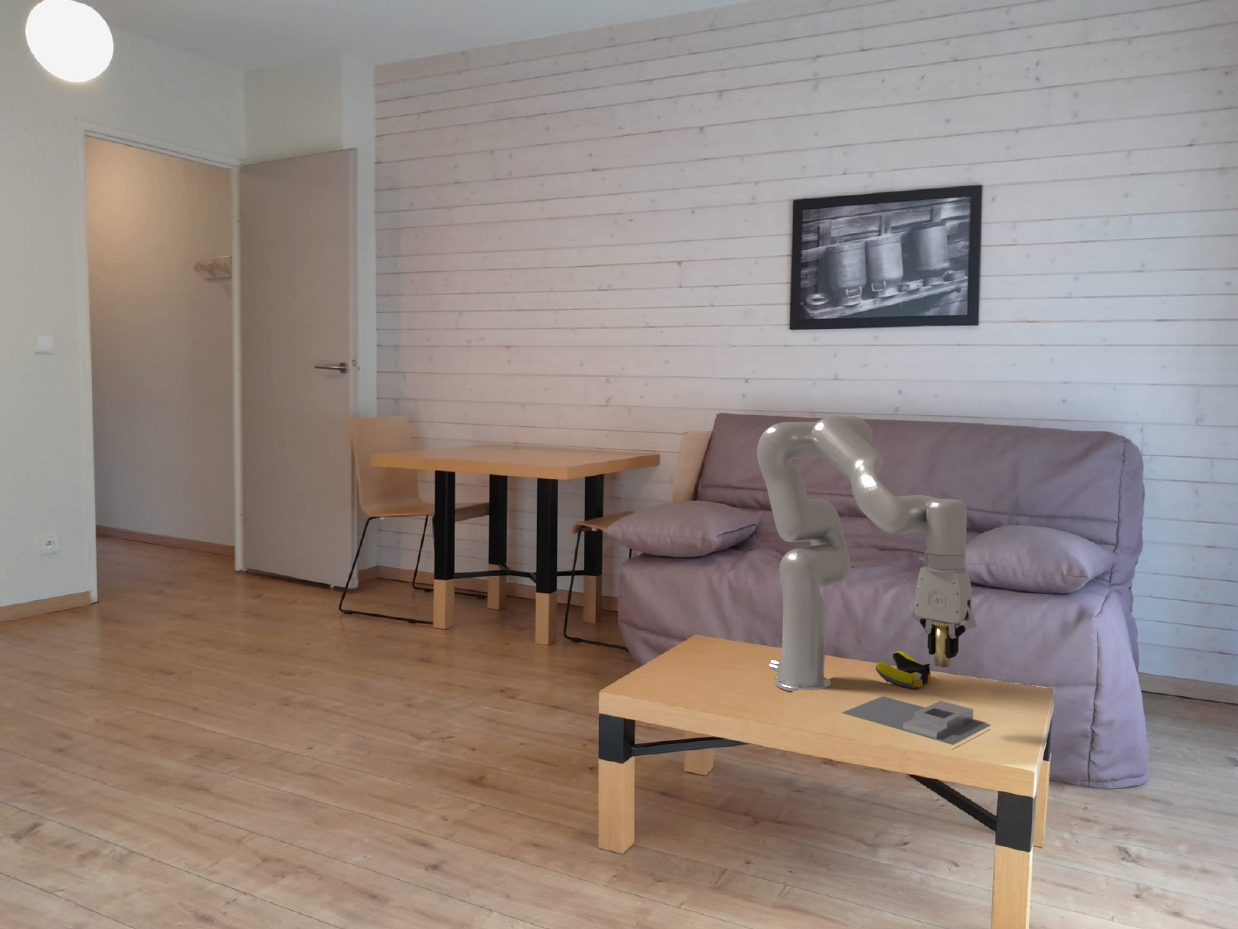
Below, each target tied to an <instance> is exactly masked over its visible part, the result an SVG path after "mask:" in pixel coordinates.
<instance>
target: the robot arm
mask: <svg viewBox="0 0 1238 929" xmlns="http://www.w3.org/2000/svg"><path fill="white" fill-rule="evenodd" d="M873 436H874V435H873V431H872V428H871V426H870V425H869V423H868V422H866V420H864V419H863V418H862V417H859V416H856V415H833V416H832V415H831V416H826V417H823V418H821V419H819V420H818V421H784V422H780V423H779V422H778V423H775V424H773V425H771V426H769V427H767V428H766V429H765V430H764V431H763V433H762V434H761V436H760V438H759V440H758V444H757V449H756V456H757V458H756V459H757V463H758V466H759V469H760V471H761V472H760V473H761V474H762V478H763V480H764V483H765V485H766V486H765V487H766V490H767V493H768V494H767V495H768V499H769V503H770V508H771V511H772V516H773V519H774V521H773V522H774V524H775V528H776V531H777V533H778V534H777V535H779V537H780V538H781V540H783V541H784V542H788V543H800V542H801V543H803V542H810V545H809V546H801V547H797V548H792V549H791V550H788V551H787V552H786V553H785V554H784V555H783V556H782V558H781V560H780V563H779V577H780V583H781V589H782V641H781V642H782V644H781V648H782V649H781V661H780V660H778V659H775V658H773V659H772V660H771V661H770V663H769V665H768V669H769V670H772V671H776V672H777V675H776V676H775V677H774V681H773V683H774V685H775V686H776V687H777V688H780V689H782V690H783V691H788V692H791V691H792V692H795V691H796V692H797V691H799V690H801V691H802V690H803V691H816V690H818V691H819V690H823V689H826V688H829V687H830V686H832V685H831V684H832V681H831V680H830V679H828V678H827V677H825V659H826V658H825V655H826V653H825V652H826V651H825V650H826V627H827V626H826V625H827V624H826V623H827V622H826V620H827V619H826V617H827V610H826V603H825V600H824V597H823V595H822V593H821V589H822V588H825V587H831V586H835V585H839V584H842V583H844V582H845V581H846V579H848V577H849V575H850V573H851V558H850V554H849V548H848V545H847V542H846V537H845V533H844V530H843V526H842V525H843V524H842V522H841V517H840V515H839V513H838V511H837V509H836V508H835V507H834V505H832V503H831V502H829V501H828V500H826V499H823V498H809V496H808V493H807V490H806V485H805V481H804V479H803V476H802V475H801V473H800V471H799V469H797V468H796V466H795V464H794V463H793V462H792V461H793V460H804V459H805V460H807V459H808V460H810V459H822V458H823V459H825V458H826V459H827V460H828V461H829V462H830V464H832V465H833V466H834V468H836V469H837V470H838V471H839V472H840V473H841V474H842V475H843V477H845V479H847V480H848V481H849V482H850V484H851V492H852V495H853V498H854V500H855V503H856V505H857V507H858V508H859V509H860V511H861V512H862V513H863V514H864V515H865V516H866V517H867V518H868V519H869V520H870V521H871V522H872V523H873V524H874V526H876V527H877V528H879V529H880V530H881V531H883V532H885V533H887V534H889V535H894V536H895V535H906V534H911V533H912V534H914V533H915V534H916V533H924V532H925V542H924V544H925V545H924V546H925V548H924V549H925V550H924V552H923V553H919V555H918V559H919V560H920V561H922V562H923V565H924V566H921V567H920V569H919V572H918V576H917V581H916V587H915V595H914V596H915V598H914V609H913V611H912V612H911V617H912V618H913V619H914V620H916V621H917V622H919V624H920V625H921V626H922V628H923V630H924V632H925V634H926V635H927V649H928V655H931V656H932V655H933V656H934V655H935V625H933V624H932V620H934V621H940V622H946V623H949V638H947V639H946V657H947V658H951V659H953V658H954V657H957V654H958V653H959V646H960V645H959V644H960V643H959V642H960V640H959V639H960V637H961V636H962V635H963V634H964V633H965V632H967V631H969V630H972V629H974V628H977V627H978V624H977V621H976V619H975V616H974V615H973V595H972V594H973V593H972V584H971V579H970V573H969V570H966V554H967V553H966V552H967V551H966V550H967V548H966V547H967V523H968V522H967V520H968V519H967V517H968V516H967V515H968V509H967V504H966V503H965V502H964V501H963V500H961V499H954V498H937V497H933V496H931V495H924V494H910V495H897V496H896V495H894V494H893V493H892V492H891V491H890V490H889V489H887V487H885V485H884V484H883V483H882V482H881V481H880V480H879V479H878V477H877V476H878V475H879V473H880V472H881V471H882V468H883V465H884V457H883V455H882V454H881V452H879V451H878V450H877V449H876V448H875V447H873V445H872V443H873V439H874V438H873ZM962 622H965V623H964V624H962Z"/></svg>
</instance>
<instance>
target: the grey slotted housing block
mask: <svg viewBox="0 0 1238 929" xmlns="http://www.w3.org/2000/svg"><path fill="white" fill-rule="evenodd" d="M973 720H974V708H971V707H966V706H962V705H959V704H955V703H951V702H948V701H947V702H946V701H942V700H938V701H937V702H934V703H931V704H930V705H928V706H925V708H923V709H921V710H919V711H916V712H914V717H913V719H911V720H909V721H907V722H905V723H903V729H904V730H907V731H911V732H914V733H918V734H921V735H925V736H928V737H932V738H935V739H937V738H939V737H941V736H943V735H945V734H947V733H949V732H951V731H953V730H955V729H957V728H959V727H961V726H963V725H966V724H968V723H970V722H972V721H973Z"/></svg>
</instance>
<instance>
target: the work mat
mask: <svg viewBox="0 0 1238 929" xmlns="http://www.w3.org/2000/svg"><path fill="white" fill-rule="evenodd" d="M925 707H926V706H925ZM925 707H924V706H921V705H918V704H914V703H910V702H907V701H902V700H898V699H896V698H895V699H894V698H892V697H887V696H880V697H878V698H877V697H876V698H875V699H873V700H870V701H867V702H864V703H863V704H859V705H858V706H855V707H852V708H850V709H847V710H845V711H843V712H842V713H841V714H844V715H849V716H851V717H855V718H858V719H862V720H865V721H869V722H872V723H876V724H880V725H882V726H884V727H885V726H886V727H888V728H889V727H890V728H893V729H896V730H899V731H903V732H906V733H911V734H914V735H917V736H921V737H924V738H928V739H930V740H934V741H939V742H941V743H945V744H949V745H951V746H952V745H956V744H957V743H959V742H961V741H963V740H965V739H966V738H968V737H971V736H973V735H975V734H976V733H978V732H980V731H982V730H984V729H986V728H988V727H990V726H991V724H989V723H986V722H983V721H982V722H981V721H978V720H975V719H973V721H972V722H970V723H968V724H966V725H963V726H961V727H959V728H957V729H955V730H953V731H951V732H949V733H947V734H945V735H943V736H941V737H939V738H937V739H935V738H932V737H928V736H925V735H921V734H918V733H914V732H911V731H907V730H904V729H903V723H905V722H907V721H909V720H911V719H913V717H914V712H916V711H919V710H921V709H923V708H925ZM989 731H991V728H990V729H987V730H986V731H984V732H983V733H980V734H979V735H977V736H975V737H973V738H970V739H969V740H967V741H966V742H964V743H961V744H960V745H957V746H956V747H954V748H952V749H951V750H955V749H957V748H959V747H961V746H963V745H964V744H966V743H968V742H970V741H972V740H974V739H976V738H977V737H980V736H981V735H983V734H986V733H987V732H989Z"/></svg>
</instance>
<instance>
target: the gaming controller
mask: <svg viewBox="0 0 1238 929" xmlns="http://www.w3.org/2000/svg"><path fill="white" fill-rule="evenodd" d="M892 660H893V663H894V665H895V667H893V666H892V665H890V664H889V663H886V662H885V661H878V662H877V663H876V664H875V671H876V672H877V673H878V675H879V676H880V677H881V678H882V679H883V680H884V681H885V682H886V683H890V684H893V685H896V686H897V685H898V686H900V687H901V688H903V689H906V688H907V690H912V689H911V688H913V689H919V688H923V686H925V685H926V684H927V683H928V682H931V678H932V675H931V674H932V673H931V671H932V668H933V666H934V665H933V664H931V663H926V664H921V663H920V662H918V661H917V660H915V659H914V658H913V657H912V656H911V655H909V654H907V653H906V652H903V651H900V650H898V651H895V652H893V654H892Z"/></svg>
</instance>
